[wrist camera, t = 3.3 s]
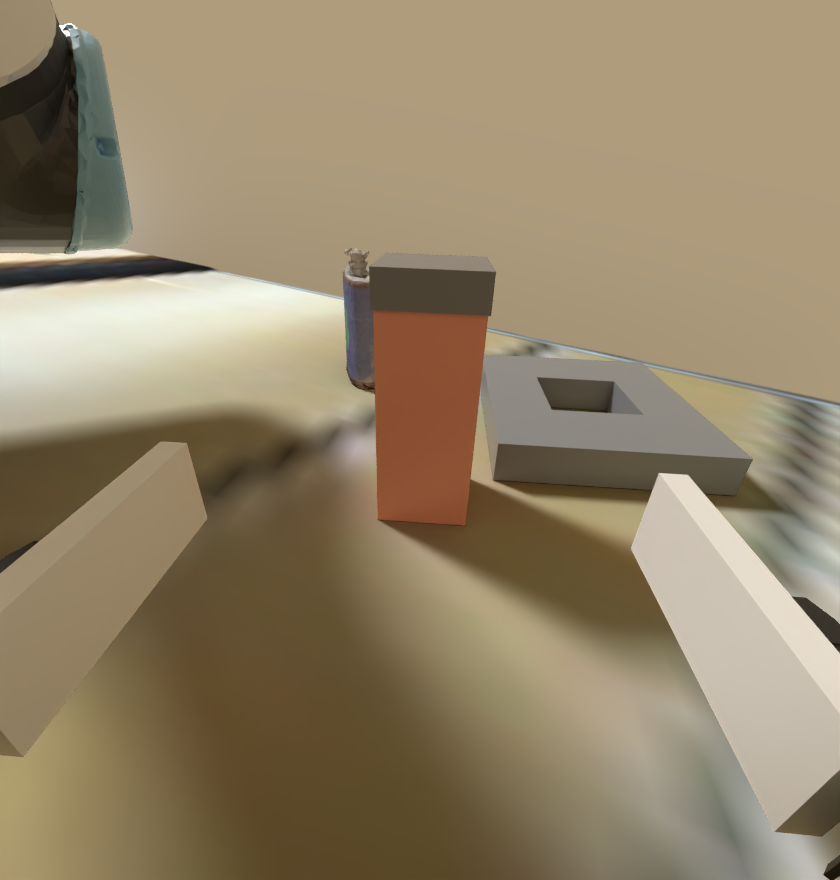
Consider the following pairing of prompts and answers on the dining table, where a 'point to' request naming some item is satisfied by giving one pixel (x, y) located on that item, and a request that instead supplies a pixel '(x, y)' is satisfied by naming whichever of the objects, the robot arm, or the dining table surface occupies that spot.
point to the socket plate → (599, 427)
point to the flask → (358, 321)
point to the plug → (427, 380)
